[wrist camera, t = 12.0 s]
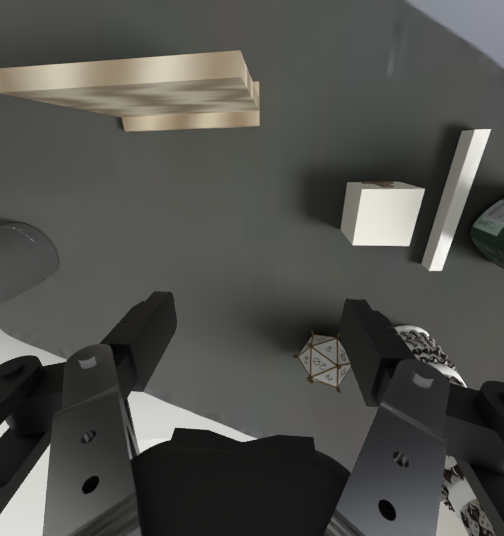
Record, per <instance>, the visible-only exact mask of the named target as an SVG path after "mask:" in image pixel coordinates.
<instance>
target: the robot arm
mask: <svg viewBox="0 0 504 536" xmlns="http://www.w3.org/2000/svg"><path fill="white" fill-rule="evenodd" d="M57 264H58V258H57V254H56V251H55V249H54V247H53V245H52V244H51V242H50V241H49V240H48V239H47V238H46V236H45V235H43V234H42V233H41V232H40V231H38V230H37V229H35V228H34V227H32V226H29V225H27V224H24V223H16V222H14V223H9V224H6V225H2V226H0V305H1V304H3V303H5V302H6V301H8V300H10V299H12V298H13V297H15V296H17V295H19V294H21V293H22V292H24V291H26V290H28V289H30V288H31V287H33V286H35V285H37V284H38V283H40V282H42V281H44V278H45V277H47V276H48V275H50V274H52V273H53V272H54V271H55V269H56V268H57ZM176 326H177V318H176V311H175V305H174V299H173V294H172V293H171V292H160V291H155V292H153V293H152V294H151V295H150V297H149V298H148V299H147V300H146V301H142V302H141V303H139V304H137V305H136V306H134V307H132V308H131V310H130V311H129V312H128V313H127V314H126V316H124V317H123V318H122V319H121V321H120V323H118V324H117V325H116V326H115V327H114V328H113V329H112V331H111V332H110V333H109V334H108V335H107V336H106V337H105V338H104V339H103V340H102V342H101V343H100V344H94V345H90V346H87V347H84V348H82V349H80V350H78V351H77V352H75V353H74V354H72V355H71V356H70V357H69V358H68V359H67V361H66V362H64V363H58V364H52V365H47V366H42V364H41V362H40V360H39V358H38V357H36V356H31V355H29V356H21V357H17V358H14V359H11V360H9V361H7V362H5V363H3V364H1V365H0V425H1V424H2V422H3V421H4V420H5V421H6V422H7V424H8V425H9V429H8V430H7V431H6V432H5V433H4V434H3V436H2V437H0V514H1V512H2V511H3V509H4V508H5V507H6V505H7V504H8V502H9V501H10V499H11V498H12V497H13V495H14V494H15V492H16V491H17V490H18V488H19V487H20V485H21V484H22V483H23V481H24V480H25V478H26V477H27V475H28V474H29V473H30V471H31V470H32V468H33V467H34V466H35V464H36V463H37V461H38V460H39V458H40V457H41V456H42V454H43V453H44V451H45V450H46V449H47V447H48V446H49V444H50V443H51V444H50V456H49V467H48V480H47V491H46V503H45V514H44V526H43V536H436V530H437V521H438V514H439V505H440V499H441V491H442V483H443V476H444V468H445V460H446V455H449V456H451V457H454V458H455V460H456V462H457V464H458V466H459V467H460V469H461V471H462V473H463V475H464V476H465V478H466V480H467V482H468V484H469V485H470V487H471V489H472V491H473V493H474V494H475V496H476V498H477V500H478V502H479V503H480V505H481V507H482V509H483V511H484V512H485V514H486V516H487V518H488V520H489V521H490V523H491V525H492V527H493V529H494V530H495V532H496V534H497V536H504V383H503V382H498V381H487V382H485V383H483V385H482V386H481V388H480V390H479V391H477V390H474V389H470V388H467V387H463V386H460V385H456V384H453V383H450V382H448V380H447V378H446V377H445V376H444V375H443V374H442V373H441V372H440V371H439V370H438V369H436V368H435V367H433V366H432V365H430V364H428V363H425V362H423V361H420V360H418V359H417V358H416V357H415V355H414V354H413V353H412V351H411V350H410V348H409V347H408V346H407V344H406V343H405V342H404V340H403V339H402V337H401V336H400V335H399V333H398V332H397V331H396V329H395V328H394V326H393V325H392V324H391V322H390V321H389V320H388V318H387V317H385V316H384V315H383V314H381V313H380V312H378V311H373V310H372V309H371V307H370V306H369V304H368V303H367V301H366V300H365V299H346V300H345V303H344V309H343V314H342V319H341V324H340V338H341V341H342V344H343V346H344V349H345V352H346V354H347V357H348V359H349V362H350V364H351V367H352V370H353V372H354V375H355V377H356V380H357V382H358V385H359V388H360V390H361V393H362V395H363V398H364V401H365V403H366V406H369V407H378V410H377V412H376V414H375V417H374V419H373V422H372V424H371V426H370V429H369V431H368V433H367V436H366V438H365V440H364V443H363V445H362V448H361V450H360V452H359V455H358V457H357V459H356V462H355V464H354V467H353V469H352V471H351V473H350V472H349V471H348V470H347V469H346V468H345V467H344V466H342V465H341V464H340V463H339V462H337V461H336V460H334V459H332V458H331V457H329V456H327V455H325V454H323V453H321V452H319V451H316V450H315V446H314V439H313V437H301V436H287V435H276V436H271V437H266V438H261V439H257V440H252V441H247V442H239V441H236V440H234V439H231V438H228V437H226V436H223V435H220V434H218V433H215V432H212V431H209V430H200V429H185V428H175V430H174V433H173V435H172V438H171V440H169V441H165V442H162V443H159V444H157V445H155V446H152V447H150V448H148V449H147V450H145V451H143V452H142V453H140V452H139V448H138V444H137V440H136V435H135V431H134V426H133V421H132V417H131V412H130V408H129V403H128V400H127V398H128V396H129V394H130V392H131V391H137V392H143V390H144V389H145V387H146V385H147V383H148V381H149V379H150V377H151V375H152V374H153V372H154V370H155V368H156V366H157V364H158V362H159V361H160V359H161V357H162V355H163V353H164V351H165V349H166V348H167V346H168V344H169V342H170V340H171V338H172V336H173V335H174V333H175V330H176Z"/></svg>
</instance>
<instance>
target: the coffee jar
mask: <svg viewBox="0 0 504 536" xmlns="http://www.w3.org/2000/svg"><path fill="white" fill-rule="evenodd" d="M470 234H471V238H472V240H473V242H474V243H475V245H476V246H477V248H478V249H479V250H480V251H481V252H482V253H483V254H484V256H485V257H487V258H488V259H489V260H490V261H491V262H493V263H494V264H496V265H497V266H499V267H501V268H503V269H504V198H502V199H500V200H499V201H497V202H496V203H494V204H493V205H491V206H490V207H489V208H487V209H486V210H485V211H484V212H483V213H482V214H481V215H480V216H479V217H478V218H477V219H476V220H475V222H474V223H473V225H472V227H471V231H470Z"/></svg>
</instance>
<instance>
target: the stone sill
mask: <svg viewBox="0 0 504 536" xmlns="http://www.w3.org/2000/svg"><path fill="white" fill-rule="evenodd" d="M490 131H491V129H480V130H467V131H462V132H461V135H460V138H459V142H458V145H457V148H456V151H455V155H454V158H453V161H452V165H451V168H450V171H449V174H448V178H447V181H446V184H445V188H444V191H443V194H442V197H441V201H440V204H439V207H438V211H437V214H436V217H435V220H434V224H433V227H432V230H431V234H430V237H429V240H428V243H427V247H426V250H425V253H424V257H423V260H422V263H421V264H422V265H423V266H424V267H425V268H426V269H428V270H429V271H442V268H443V265H444V263H445V260H446V257H447V254H448V251H449V248H450V245H451V243H452V240H453V237H454V234H455V231H456V228H457V225H458V223H459V220H460V217H461V214H462V211H463V208H464V205H465V203H466V200H467V197H468V194H469V191H470V188H471V185H472V182H473V180H474V177H475V174H476V171H477V168H478V165H479V162H480V160H481V157H482V154H483V151H484V148H485V145H486V142H487V140H488V137H489V134H490Z"/></svg>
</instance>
